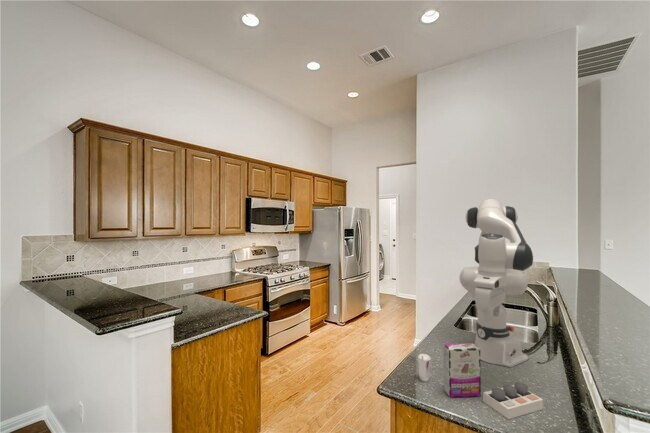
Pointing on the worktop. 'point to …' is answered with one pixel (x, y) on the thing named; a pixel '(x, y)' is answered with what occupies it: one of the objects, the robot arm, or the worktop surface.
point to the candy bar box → (462, 370)
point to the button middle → (510, 391)
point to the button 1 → (498, 394)
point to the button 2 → (521, 388)
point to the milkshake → (424, 367)
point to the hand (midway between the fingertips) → (491, 318)
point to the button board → (514, 404)
